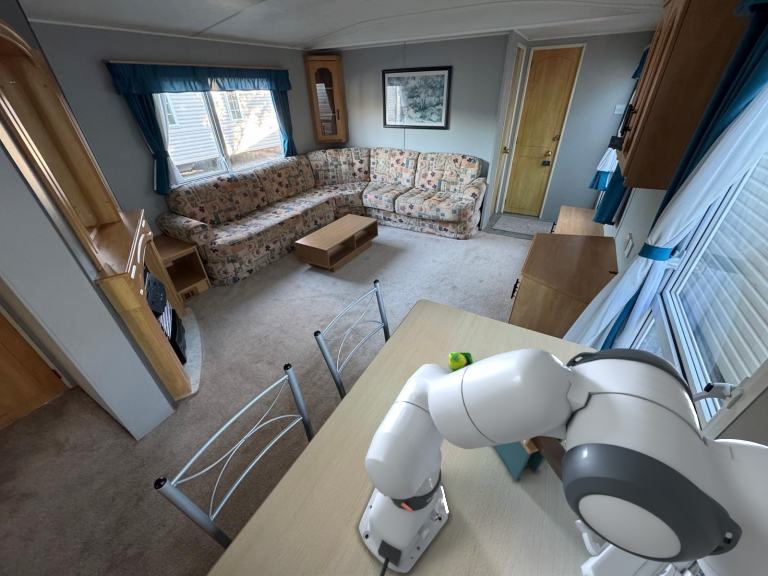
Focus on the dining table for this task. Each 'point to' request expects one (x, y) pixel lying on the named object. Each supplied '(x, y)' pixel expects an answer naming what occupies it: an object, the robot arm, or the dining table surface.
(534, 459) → the plate rack
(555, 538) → the dining table surface
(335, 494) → the dining table surface
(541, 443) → the block
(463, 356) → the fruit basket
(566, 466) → the robot arm
